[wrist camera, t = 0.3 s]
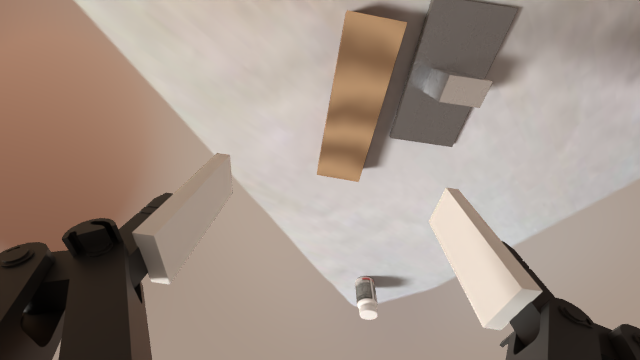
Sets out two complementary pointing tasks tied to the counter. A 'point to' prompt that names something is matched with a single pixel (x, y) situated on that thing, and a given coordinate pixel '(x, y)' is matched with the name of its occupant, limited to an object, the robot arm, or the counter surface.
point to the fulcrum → (450, 69)
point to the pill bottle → (366, 298)
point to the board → (358, 92)
